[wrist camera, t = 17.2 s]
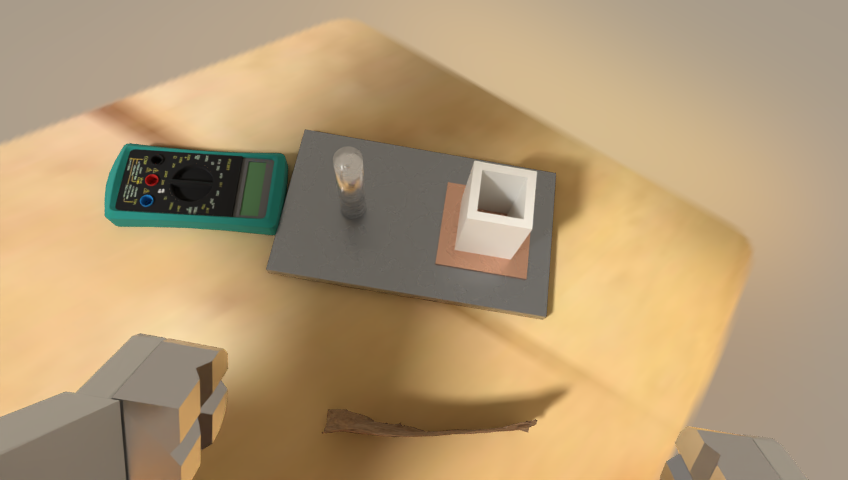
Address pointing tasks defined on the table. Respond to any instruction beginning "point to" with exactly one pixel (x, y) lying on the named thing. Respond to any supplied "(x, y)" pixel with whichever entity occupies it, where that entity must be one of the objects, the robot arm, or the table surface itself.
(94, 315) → the table surface
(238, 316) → the table surface
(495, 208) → the sleeve
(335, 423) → the brown bark piece
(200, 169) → the digital multimeter
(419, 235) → the post plate
